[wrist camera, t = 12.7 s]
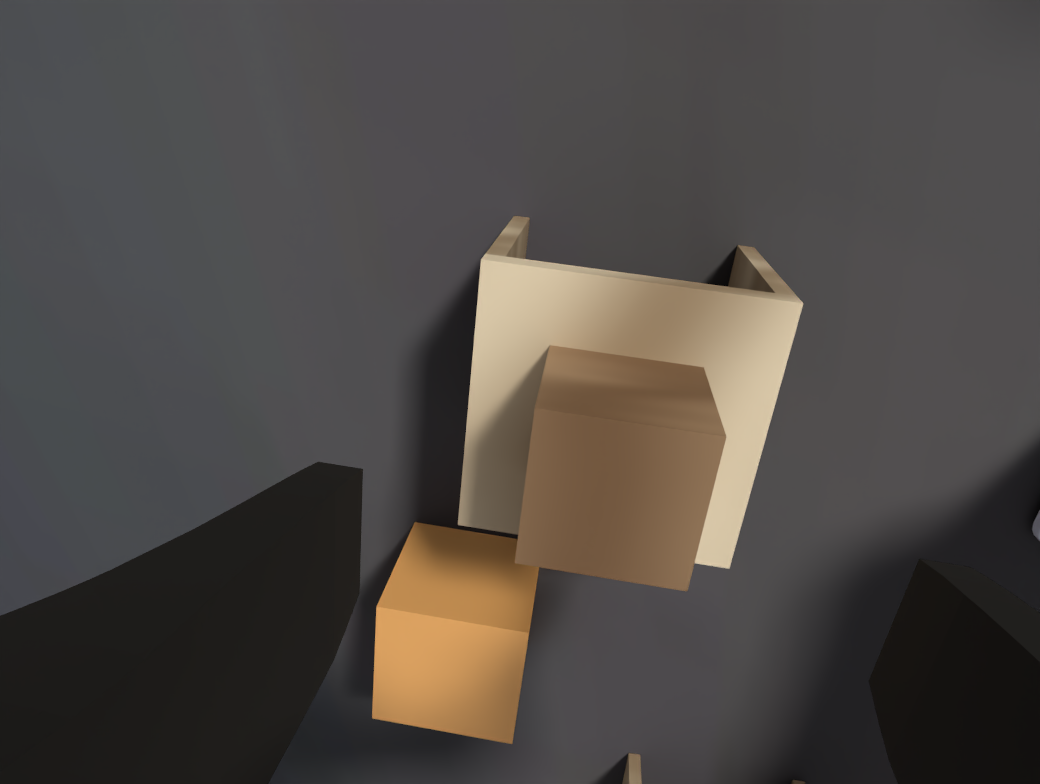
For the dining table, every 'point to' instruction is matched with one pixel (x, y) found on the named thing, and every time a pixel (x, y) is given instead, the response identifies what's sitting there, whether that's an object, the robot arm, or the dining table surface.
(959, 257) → the dining table surface
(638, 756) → the cover
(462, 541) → the orange cube
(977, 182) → the dining table surface
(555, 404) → the cover
